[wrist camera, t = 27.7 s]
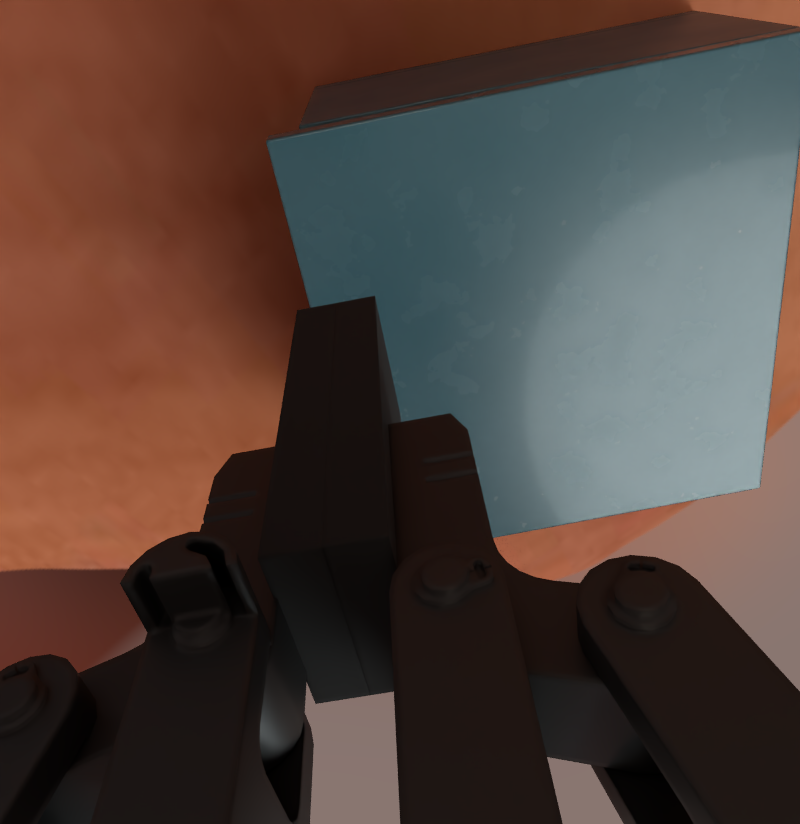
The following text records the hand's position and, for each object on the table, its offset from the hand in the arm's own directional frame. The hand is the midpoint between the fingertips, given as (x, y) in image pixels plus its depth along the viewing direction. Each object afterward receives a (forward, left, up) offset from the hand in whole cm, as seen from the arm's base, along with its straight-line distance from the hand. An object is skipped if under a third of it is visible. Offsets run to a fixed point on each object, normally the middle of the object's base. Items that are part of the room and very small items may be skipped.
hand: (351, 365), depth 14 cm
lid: (+6, -7, -13) cm, 16 cm away
